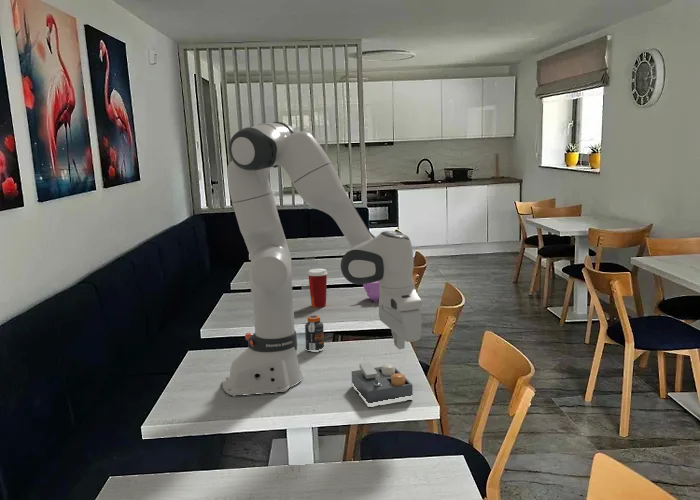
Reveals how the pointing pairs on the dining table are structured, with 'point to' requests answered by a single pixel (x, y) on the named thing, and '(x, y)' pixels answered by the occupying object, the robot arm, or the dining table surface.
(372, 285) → the teapot
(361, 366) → the rocker
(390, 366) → the button ivory
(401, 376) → the button orange
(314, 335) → the pill bottle
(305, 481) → the dining table surface
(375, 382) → the console
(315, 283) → the coffee cup
